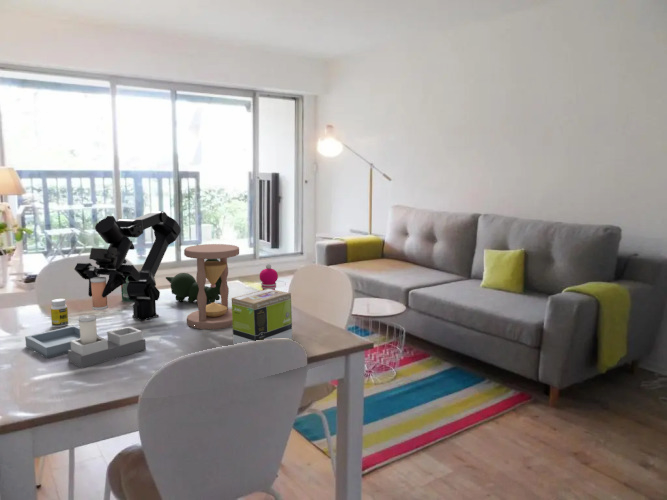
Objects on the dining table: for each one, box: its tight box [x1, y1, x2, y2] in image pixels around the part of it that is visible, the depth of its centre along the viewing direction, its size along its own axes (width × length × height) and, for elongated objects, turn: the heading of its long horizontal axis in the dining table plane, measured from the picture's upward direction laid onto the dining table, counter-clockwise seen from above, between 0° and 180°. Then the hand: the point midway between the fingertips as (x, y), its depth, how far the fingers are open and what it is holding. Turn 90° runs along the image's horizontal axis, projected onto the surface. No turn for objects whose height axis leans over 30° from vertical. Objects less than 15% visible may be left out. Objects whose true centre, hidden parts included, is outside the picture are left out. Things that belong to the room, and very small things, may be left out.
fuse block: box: [67, 326, 147, 369], centre depth 139 cm, size 18×7×6 cm, turn 141°
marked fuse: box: [90, 276, 109, 311], centre depth 150 cm, size 4×4×9 cm
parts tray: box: [24, 325, 99, 359], centre depth 146 cm, size 14×14×3 cm
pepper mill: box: [259, 263, 279, 290], centre depth 168 cm, size 7×7×20 cm
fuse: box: [77, 314, 98, 345], centre depth 134 cm, size 4×4×9 cm
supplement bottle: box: [50, 298, 69, 328], centre depth 164 cm, size 5×5×8 cm
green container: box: [120, 270, 140, 304], centre depth 196 cm, size 8×8×11 cm
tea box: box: [231, 289, 293, 345], centre depth 149 cm, size 15×10×15 cm, turn 141°
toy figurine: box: [165, 259, 222, 304], centre depth 193 cm, size 9×19×25 cm
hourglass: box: [183, 243, 240, 330], centre depth 169 cm, size 18×18×25 cm
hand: (96, 296), depth 148 cm, fingers closed on marked fuse, 4 cm apart
